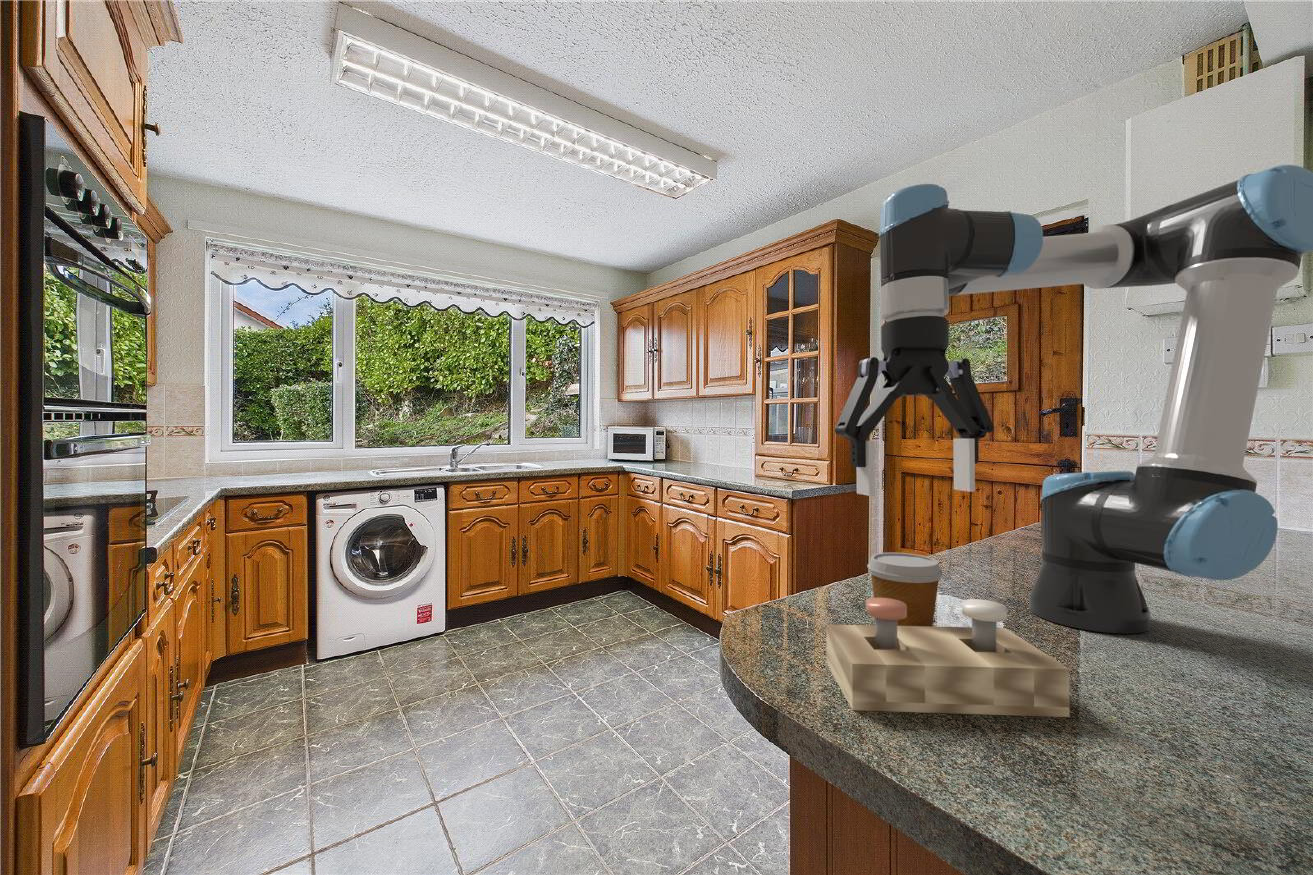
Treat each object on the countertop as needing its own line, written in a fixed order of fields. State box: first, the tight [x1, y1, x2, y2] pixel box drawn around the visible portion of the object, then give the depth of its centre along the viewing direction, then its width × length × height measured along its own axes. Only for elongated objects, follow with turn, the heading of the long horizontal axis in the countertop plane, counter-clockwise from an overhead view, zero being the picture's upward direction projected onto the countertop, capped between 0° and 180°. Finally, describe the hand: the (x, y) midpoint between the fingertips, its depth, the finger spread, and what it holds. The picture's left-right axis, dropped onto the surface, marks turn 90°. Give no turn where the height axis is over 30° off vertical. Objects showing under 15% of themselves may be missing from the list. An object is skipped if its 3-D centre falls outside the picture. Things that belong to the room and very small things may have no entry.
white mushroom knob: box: [961, 598, 1008, 651], centre depth 63 cm, size 4×4×5 cm
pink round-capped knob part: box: [865, 597, 907, 649], centre depth 64 cm, size 4×4×5 cm
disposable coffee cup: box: [866, 552, 943, 627], centre depth 76 cm, size 10×10×12 cm
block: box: [825, 623, 1070, 718], centre depth 64 cm, size 22×12×5 cm, turn 86°
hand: (915, 492), depth 68 cm, fingers open, 13 cm apart
